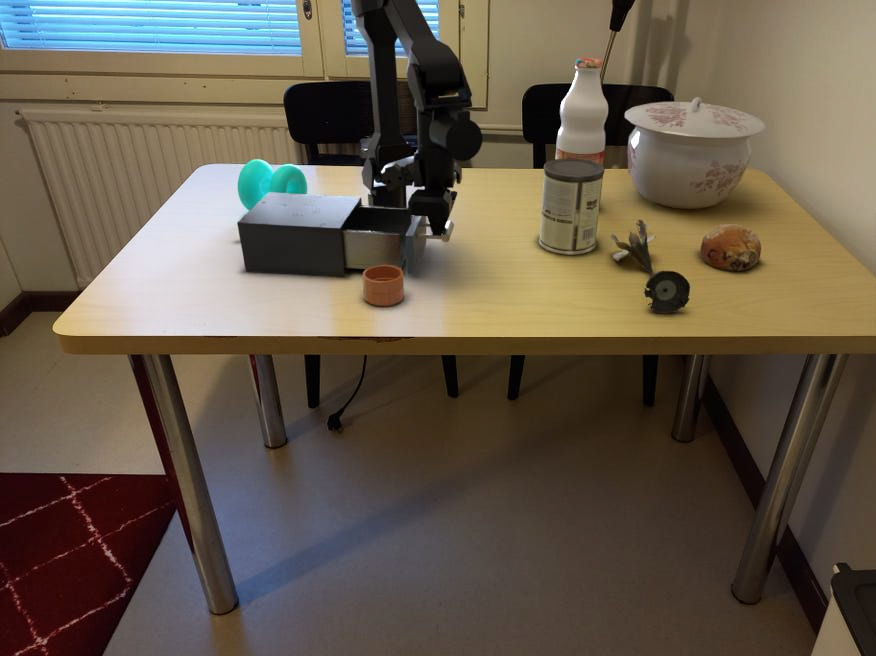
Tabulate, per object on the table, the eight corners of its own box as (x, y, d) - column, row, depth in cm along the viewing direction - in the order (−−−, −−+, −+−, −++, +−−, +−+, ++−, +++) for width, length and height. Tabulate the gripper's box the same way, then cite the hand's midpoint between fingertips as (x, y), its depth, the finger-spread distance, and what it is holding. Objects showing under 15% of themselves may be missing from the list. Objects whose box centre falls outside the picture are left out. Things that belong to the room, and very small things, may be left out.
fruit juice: (542, 203, 142) (552, 57, 127) (576, 195, 146) (590, 53, 131) (572, 217, 135) (587, 65, 120) (607, 209, 140) (625, 61, 125)
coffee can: (549, 229, 130) (555, 154, 122) (602, 239, 126) (611, 163, 119) (529, 248, 122) (535, 170, 114) (585, 259, 119) (594, 179, 111)
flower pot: (394, 286, 108) (393, 262, 106) (410, 302, 104) (409, 277, 102) (358, 294, 106) (356, 269, 104) (373, 311, 101) (372, 285, 99)
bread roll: (753, 275, 123) (763, 231, 122) (759, 274, 113) (769, 225, 112) (696, 267, 126) (705, 223, 124) (697, 264, 116) (707, 217, 115)
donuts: (284, 226, 128) (276, 173, 123) (239, 218, 131) (230, 166, 126) (312, 209, 136) (307, 158, 131) (269, 202, 139) (262, 152, 133)
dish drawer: (456, 244, 121) (456, 207, 117) (447, 276, 110) (446, 237, 106) (341, 237, 122) (337, 201, 118) (320, 269, 111) (315, 230, 107)
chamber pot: (647, 226, 132) (665, 115, 121) (594, 181, 154) (605, 84, 143) (775, 217, 138) (803, 110, 127) (706, 175, 160) (725, 81, 149)
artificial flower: (633, 321, 103) (623, 259, 99) (614, 273, 123) (604, 220, 119) (693, 309, 102) (685, 245, 98) (664, 262, 122) (656, 208, 118)
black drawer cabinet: (364, 242, 123) (361, 196, 118) (344, 277, 111) (340, 228, 106) (275, 237, 124) (268, 192, 119) (245, 271, 112) (236, 222, 107)
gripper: (395, 125, 113) (399, 215, 122) (371, 158, 98) (377, 258, 106) (462, 128, 113) (461, 218, 121) (448, 161, 97) (448, 263, 105)
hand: (437, 238), depth 113 cm, fingers closed
